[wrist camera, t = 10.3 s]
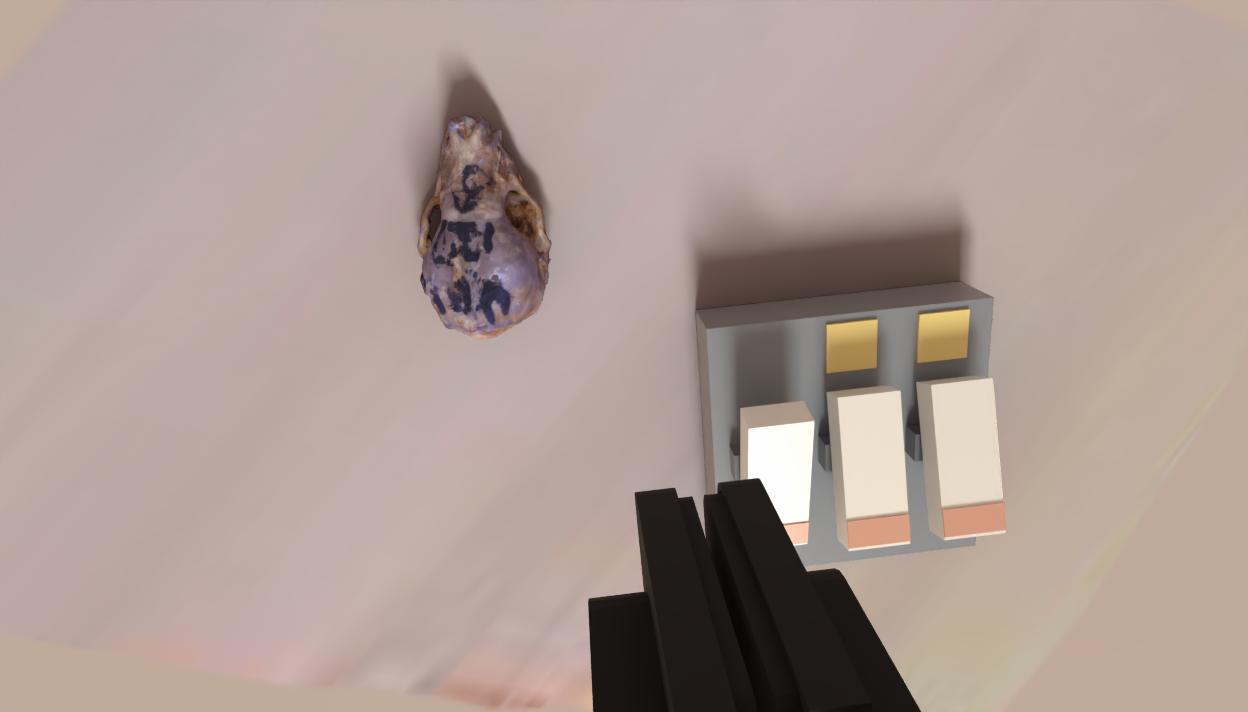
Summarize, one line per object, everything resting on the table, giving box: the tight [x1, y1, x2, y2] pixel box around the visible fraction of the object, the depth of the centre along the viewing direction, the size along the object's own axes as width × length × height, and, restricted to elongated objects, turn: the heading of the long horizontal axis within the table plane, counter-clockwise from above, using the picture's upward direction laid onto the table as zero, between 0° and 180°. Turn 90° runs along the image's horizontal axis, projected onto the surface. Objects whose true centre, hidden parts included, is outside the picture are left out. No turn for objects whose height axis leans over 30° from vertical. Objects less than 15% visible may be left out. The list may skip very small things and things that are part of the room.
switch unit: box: [695, 281, 994, 566], centre depth 49 cm, size 17×17×5 cm
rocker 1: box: [740, 401, 814, 546], centre depth 44 cm, size 9×4×2 cm, turn 5°
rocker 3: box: [916, 375, 1006, 540], centre depth 45 cm, size 9×4×2 cm, turn 5°
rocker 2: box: [827, 385, 911, 551], centre depth 44 cm, size 9×4×2 cm, turn 5°
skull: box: [418, 115, 552, 339], centre depth 42 cm, size 12×8×6 cm, turn 175°
